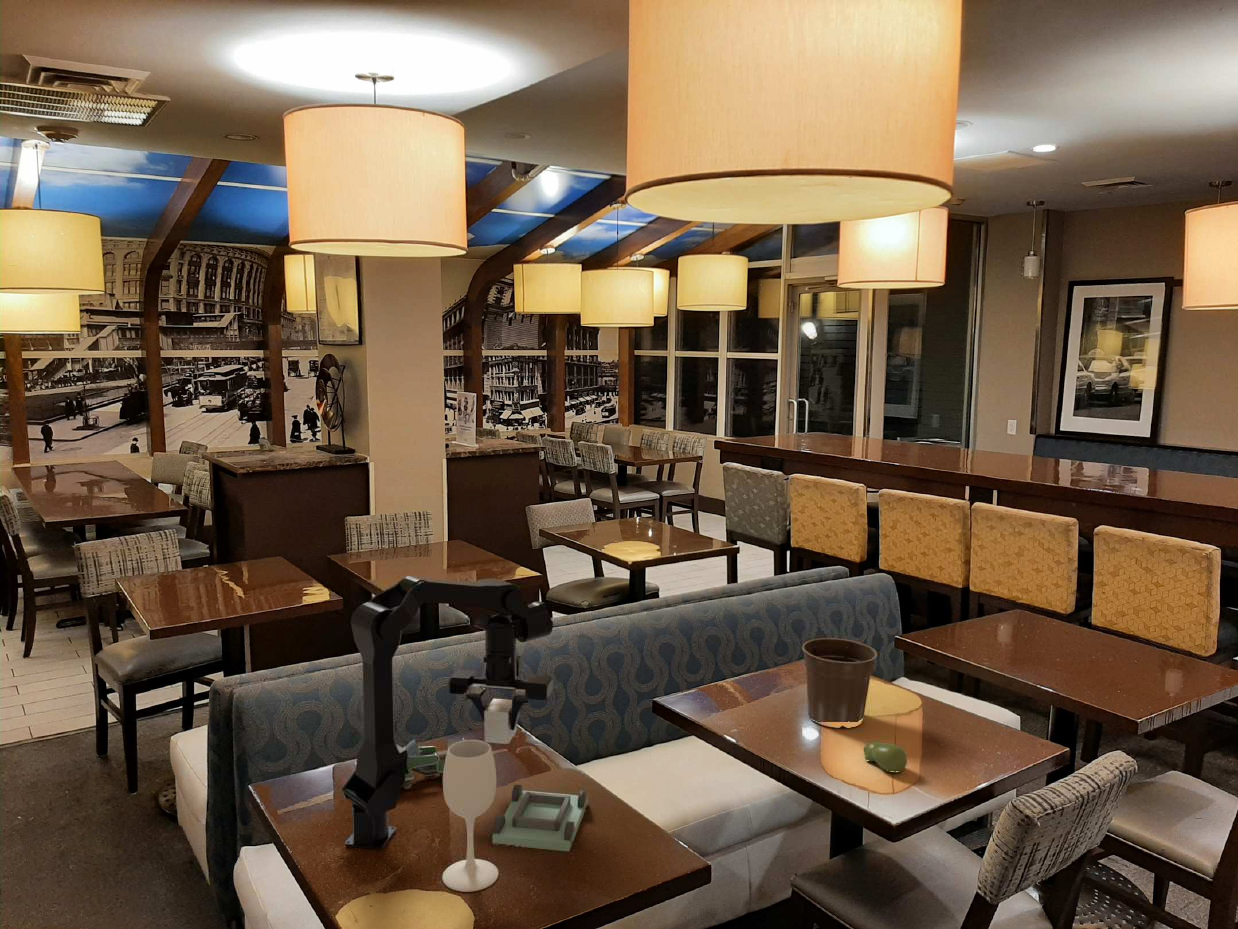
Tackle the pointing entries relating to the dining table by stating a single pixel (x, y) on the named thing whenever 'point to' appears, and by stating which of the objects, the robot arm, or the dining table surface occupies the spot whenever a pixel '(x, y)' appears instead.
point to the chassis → (540, 819)
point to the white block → (498, 721)
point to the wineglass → (469, 808)
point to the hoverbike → (423, 761)
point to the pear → (886, 755)
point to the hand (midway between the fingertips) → (500, 728)
